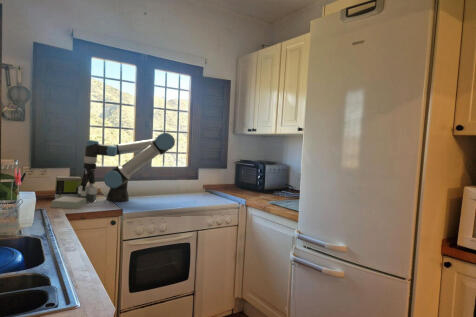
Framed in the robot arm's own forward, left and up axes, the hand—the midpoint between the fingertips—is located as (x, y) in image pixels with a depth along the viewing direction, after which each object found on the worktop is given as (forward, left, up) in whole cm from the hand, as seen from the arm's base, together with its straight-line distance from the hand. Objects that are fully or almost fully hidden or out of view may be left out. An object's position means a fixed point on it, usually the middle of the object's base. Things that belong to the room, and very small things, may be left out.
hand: (86, 194), depth 203 cm
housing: (0, 0, -5) cm, 5 cm away
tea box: (+14, -5, -5) cm, 15 cm away
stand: (+4, +19, -5) cm, 20 cm away
